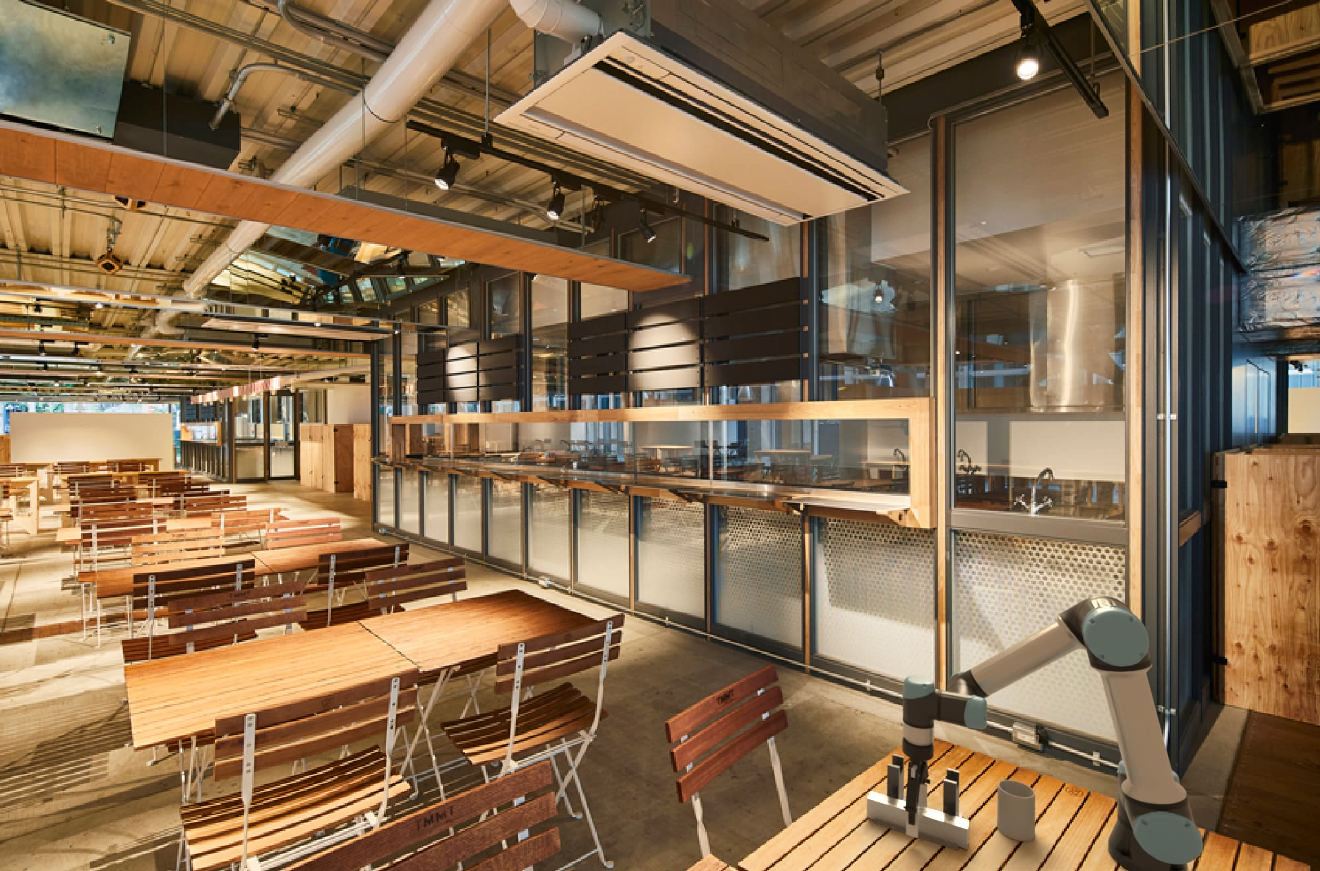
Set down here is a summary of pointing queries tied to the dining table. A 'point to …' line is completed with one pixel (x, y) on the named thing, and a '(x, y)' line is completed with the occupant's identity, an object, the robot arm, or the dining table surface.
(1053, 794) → the dining table surface
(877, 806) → the rail
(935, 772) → the dining table surface
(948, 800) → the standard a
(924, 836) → the plank
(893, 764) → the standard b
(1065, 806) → the dining table surface
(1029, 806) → the grey oval cup
